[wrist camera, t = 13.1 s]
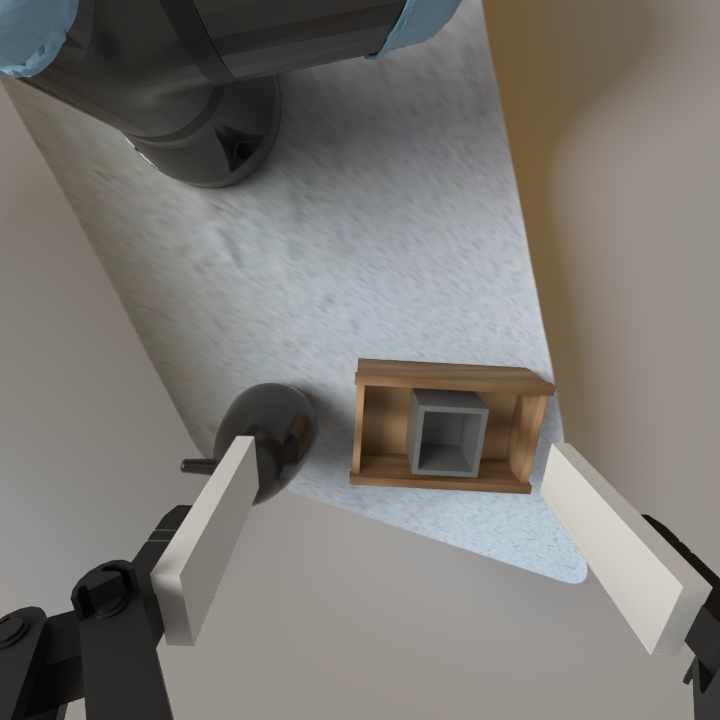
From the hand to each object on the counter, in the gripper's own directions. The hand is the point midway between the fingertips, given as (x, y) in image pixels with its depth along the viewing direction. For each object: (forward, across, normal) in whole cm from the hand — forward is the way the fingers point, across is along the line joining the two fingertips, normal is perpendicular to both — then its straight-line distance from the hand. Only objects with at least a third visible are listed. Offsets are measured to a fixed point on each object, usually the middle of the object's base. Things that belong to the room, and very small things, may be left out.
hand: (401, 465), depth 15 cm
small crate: (+24, +8, -11) cm, 27 cm away
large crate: (+25, +8, -10) cm, 28 cm away
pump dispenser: (+25, -12, -11) cm, 30 cm away
